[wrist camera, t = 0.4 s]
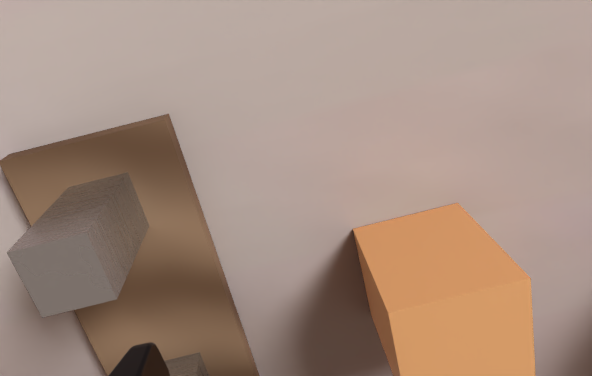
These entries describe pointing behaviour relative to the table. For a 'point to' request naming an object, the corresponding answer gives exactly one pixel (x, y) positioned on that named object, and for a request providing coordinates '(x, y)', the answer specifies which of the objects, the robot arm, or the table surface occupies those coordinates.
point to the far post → (187, 366)
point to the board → (146, 247)
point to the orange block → (446, 296)
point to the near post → (81, 246)
